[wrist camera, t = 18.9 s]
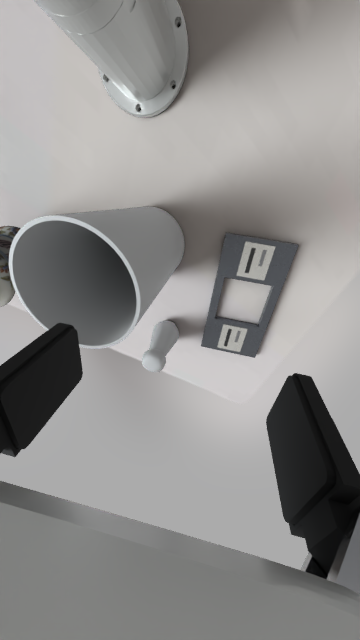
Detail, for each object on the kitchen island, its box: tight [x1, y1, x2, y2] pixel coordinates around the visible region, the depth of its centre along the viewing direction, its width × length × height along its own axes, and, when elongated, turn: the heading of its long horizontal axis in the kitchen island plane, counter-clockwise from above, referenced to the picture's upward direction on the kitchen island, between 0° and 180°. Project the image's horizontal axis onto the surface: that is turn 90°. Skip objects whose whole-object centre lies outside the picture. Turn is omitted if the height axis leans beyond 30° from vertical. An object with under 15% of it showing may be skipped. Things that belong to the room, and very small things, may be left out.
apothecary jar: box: [0, 226, 21, 307], centre depth 39 cm, size 12×12×18 cm
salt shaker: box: [142, 320, 179, 372], centre depth 44 cm, size 6×6×13 cm
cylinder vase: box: [9, 207, 185, 349], centre depth 31 cm, size 12×12×25 cm
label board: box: [201, 233, 298, 358], centre depth 43 cm, size 24×12×2 cm, turn 173°
